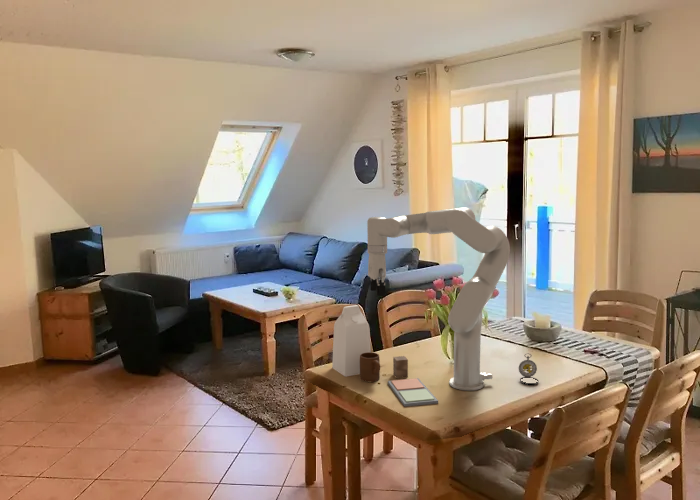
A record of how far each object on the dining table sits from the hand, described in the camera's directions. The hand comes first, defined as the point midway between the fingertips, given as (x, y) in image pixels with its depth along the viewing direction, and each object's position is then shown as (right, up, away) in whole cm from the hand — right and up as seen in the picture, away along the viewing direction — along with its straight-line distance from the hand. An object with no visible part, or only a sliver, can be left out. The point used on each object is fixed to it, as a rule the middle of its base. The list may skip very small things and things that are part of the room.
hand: (377, 292), depth 229 cm
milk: (-10, -32, +8) cm, 34 cm away
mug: (-2, -33, -5) cm, 34 cm away
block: (+9, -32, 0) cm, 33 cm away
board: (+11, -35, -17) cm, 40 cm away
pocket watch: (+56, -33, -8) cm, 66 cm away
